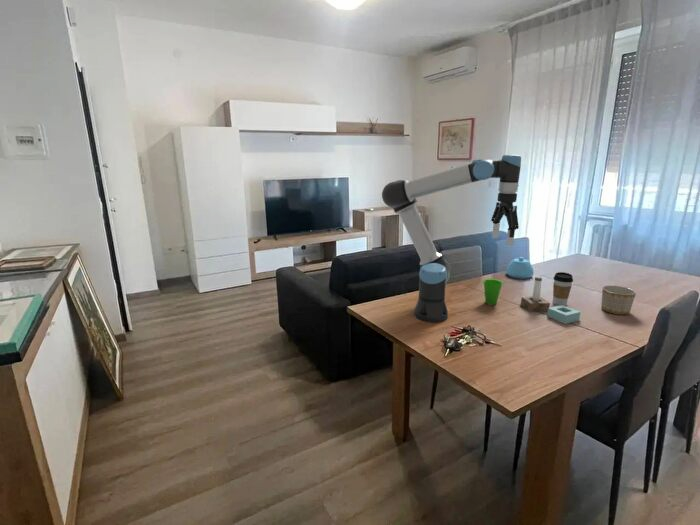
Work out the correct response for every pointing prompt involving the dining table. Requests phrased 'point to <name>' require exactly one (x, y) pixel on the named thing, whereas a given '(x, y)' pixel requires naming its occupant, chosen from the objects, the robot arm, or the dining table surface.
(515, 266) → the sugar bowl
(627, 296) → the planter
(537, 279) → the pale grey rod
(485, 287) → the cup
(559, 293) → the coffee cup
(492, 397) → the dining table surface
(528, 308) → the brown square wooden ring
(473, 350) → the dining table surface
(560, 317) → the teal square ring
